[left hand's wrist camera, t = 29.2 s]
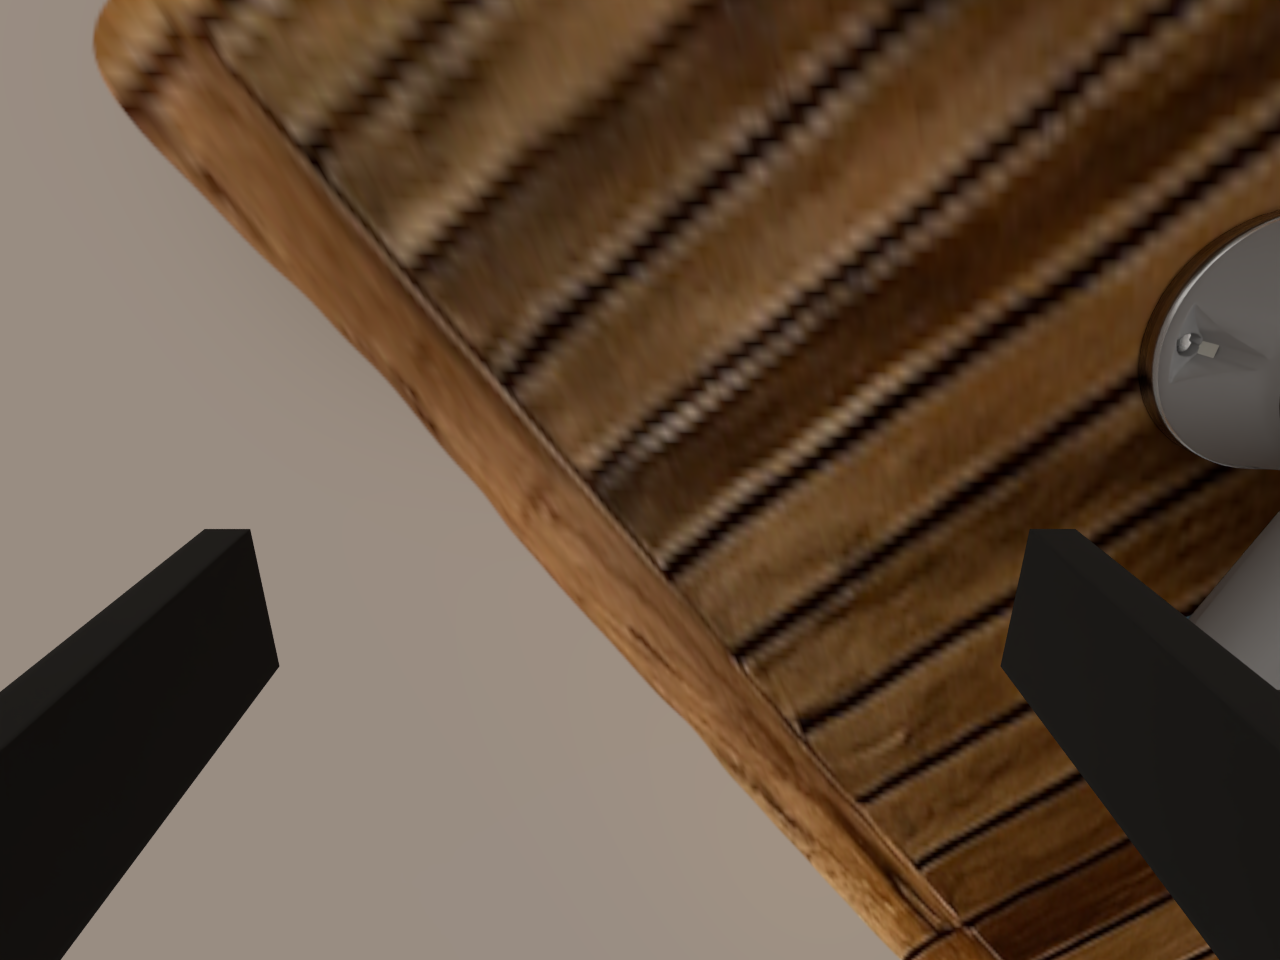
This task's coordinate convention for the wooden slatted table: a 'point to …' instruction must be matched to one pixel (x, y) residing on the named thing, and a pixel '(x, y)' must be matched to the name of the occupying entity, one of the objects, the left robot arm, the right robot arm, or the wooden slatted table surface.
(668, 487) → the wooden slatted table surface
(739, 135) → the wooden slatted table surface
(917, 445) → the wooden slatted table surface
